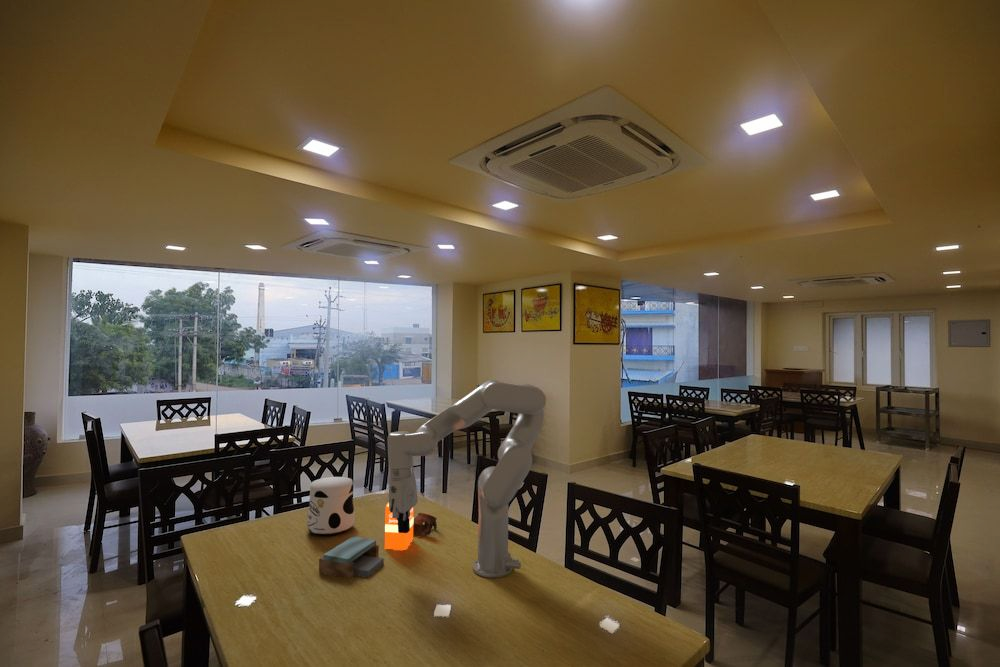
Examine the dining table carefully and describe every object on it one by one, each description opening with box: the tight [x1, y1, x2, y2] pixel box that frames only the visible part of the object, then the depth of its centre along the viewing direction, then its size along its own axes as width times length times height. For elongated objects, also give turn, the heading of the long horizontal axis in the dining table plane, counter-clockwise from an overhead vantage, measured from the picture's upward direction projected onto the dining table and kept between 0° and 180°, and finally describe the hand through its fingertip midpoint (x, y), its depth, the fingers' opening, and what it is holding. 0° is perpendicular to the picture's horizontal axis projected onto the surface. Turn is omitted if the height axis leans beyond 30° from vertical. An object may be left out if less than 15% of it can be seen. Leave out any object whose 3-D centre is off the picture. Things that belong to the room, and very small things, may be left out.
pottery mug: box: [413, 512, 438, 538], centre depth 178 cm, size 12×10×8 cm
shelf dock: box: [318, 536, 380, 580], centre depth 151 cm, size 12×15×6 cm
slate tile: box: [352, 555, 385, 578], centre depth 150 cm, size 14×9×2 cm, turn 74°
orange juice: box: [384, 502, 415, 551], centre depth 167 cm, size 8×9×20 cm
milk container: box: [306, 476, 356, 536], centre depth 180 cm, size 17×17×18 cm
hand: (404, 531), depth 146 cm, fingers closed
